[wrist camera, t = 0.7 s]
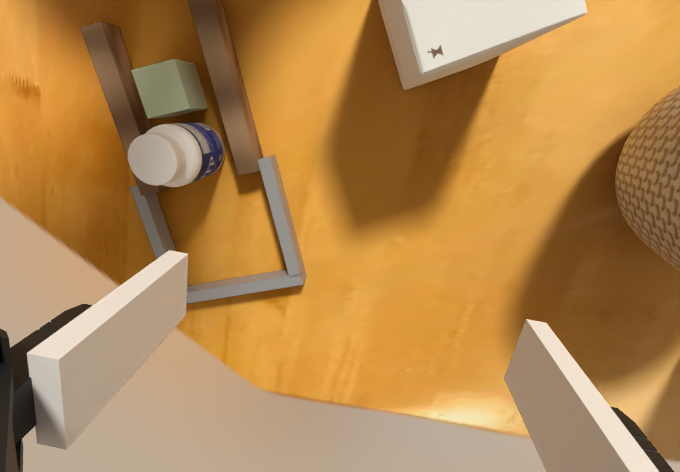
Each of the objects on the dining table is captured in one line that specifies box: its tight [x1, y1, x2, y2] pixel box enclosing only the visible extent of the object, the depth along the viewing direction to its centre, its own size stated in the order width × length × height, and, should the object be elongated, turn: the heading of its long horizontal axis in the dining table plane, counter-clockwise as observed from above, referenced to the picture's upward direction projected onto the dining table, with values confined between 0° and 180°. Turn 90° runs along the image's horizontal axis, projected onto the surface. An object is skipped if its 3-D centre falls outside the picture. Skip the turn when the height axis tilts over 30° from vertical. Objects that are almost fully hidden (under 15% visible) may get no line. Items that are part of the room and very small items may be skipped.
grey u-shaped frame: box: [130, 155, 306, 304], centre depth 40 cm, size 13×14×2 cm
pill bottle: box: [128, 122, 225, 187], centre depth 35 cm, size 5×5×9 cm
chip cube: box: [131, 59, 208, 119], centre depth 36 cm, size 4×4×4 cm
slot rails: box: [80, 0, 263, 196], centre depth 36 cm, size 15×12×2 cm
